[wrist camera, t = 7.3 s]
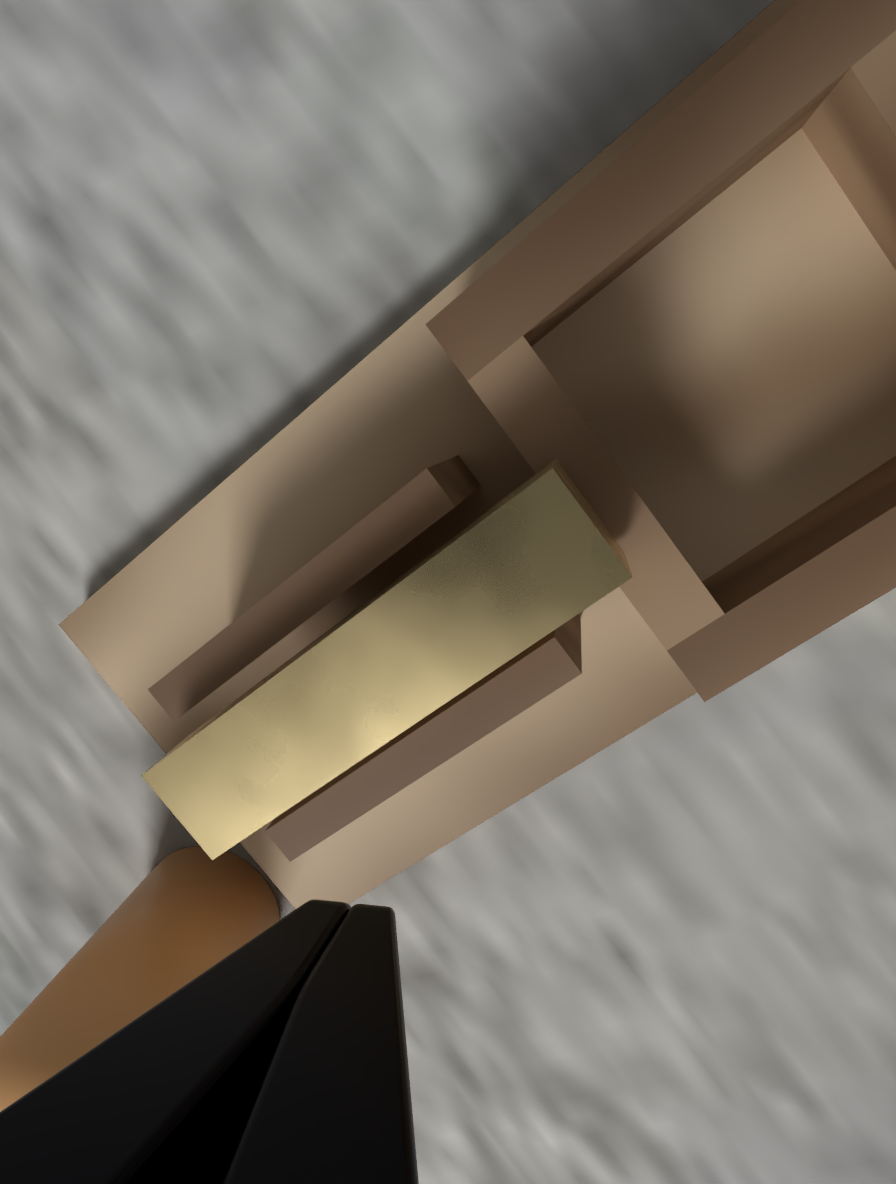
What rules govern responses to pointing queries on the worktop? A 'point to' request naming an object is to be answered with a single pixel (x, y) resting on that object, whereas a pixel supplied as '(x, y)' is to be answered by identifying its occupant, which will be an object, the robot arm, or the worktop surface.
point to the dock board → (577, 451)
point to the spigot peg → (137, 961)
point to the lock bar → (393, 660)
